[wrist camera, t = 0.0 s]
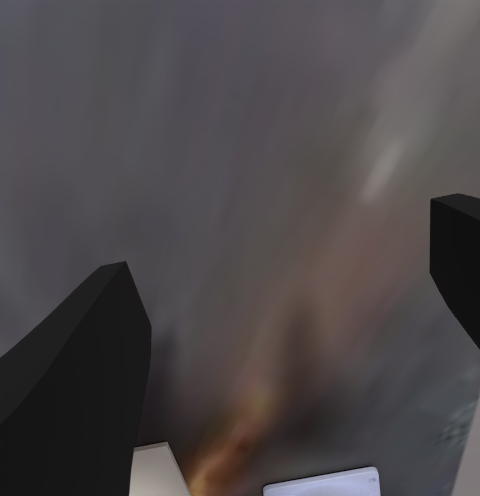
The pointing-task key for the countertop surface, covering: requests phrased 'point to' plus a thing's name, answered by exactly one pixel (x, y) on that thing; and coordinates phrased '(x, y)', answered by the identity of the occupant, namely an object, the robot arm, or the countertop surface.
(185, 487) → the topple mat
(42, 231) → the countertop surface
